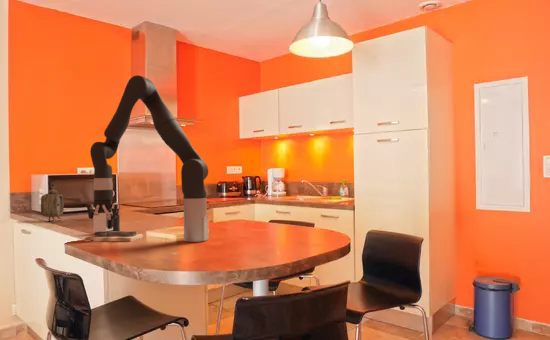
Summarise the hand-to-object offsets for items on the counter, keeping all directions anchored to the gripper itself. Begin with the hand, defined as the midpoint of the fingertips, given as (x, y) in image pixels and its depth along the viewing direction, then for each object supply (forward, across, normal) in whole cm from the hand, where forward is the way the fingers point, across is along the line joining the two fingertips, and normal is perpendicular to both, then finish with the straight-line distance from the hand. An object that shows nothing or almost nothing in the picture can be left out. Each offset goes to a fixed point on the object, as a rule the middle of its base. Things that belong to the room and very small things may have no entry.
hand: (103, 228), depth 168 cm
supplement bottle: (+5, +6, -18) cm, 20 cm away
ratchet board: (+5, -5, 0) cm, 7 cm away
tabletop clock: (+5, +76, -73) cm, 106 cm away
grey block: (+1, 0, 0) cm, 1 cm away
